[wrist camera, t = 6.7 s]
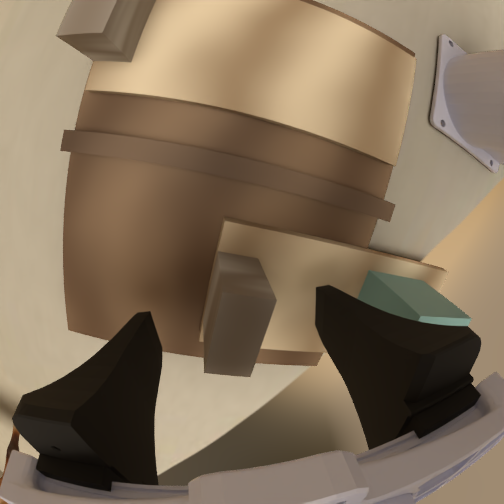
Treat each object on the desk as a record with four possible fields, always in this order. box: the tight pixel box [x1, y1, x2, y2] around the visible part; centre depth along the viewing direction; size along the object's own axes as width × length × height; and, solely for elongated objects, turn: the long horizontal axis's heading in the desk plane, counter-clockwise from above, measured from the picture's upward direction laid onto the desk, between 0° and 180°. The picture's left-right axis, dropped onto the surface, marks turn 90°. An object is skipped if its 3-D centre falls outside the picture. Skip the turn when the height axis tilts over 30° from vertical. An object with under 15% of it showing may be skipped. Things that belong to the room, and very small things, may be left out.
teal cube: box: [357, 270, 471, 326], centre depth 14 cm, size 5×5×5 cm
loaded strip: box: [199, 217, 448, 377], centre depth 14 cm, size 16×7×5 cm, turn 76°
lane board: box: [60, 0, 415, 366], centre depth 13 cm, size 17×22×2 cm
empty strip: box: [56, 0, 416, 166], centre depth 9 cm, size 16×7×5 cm, turn 76°
